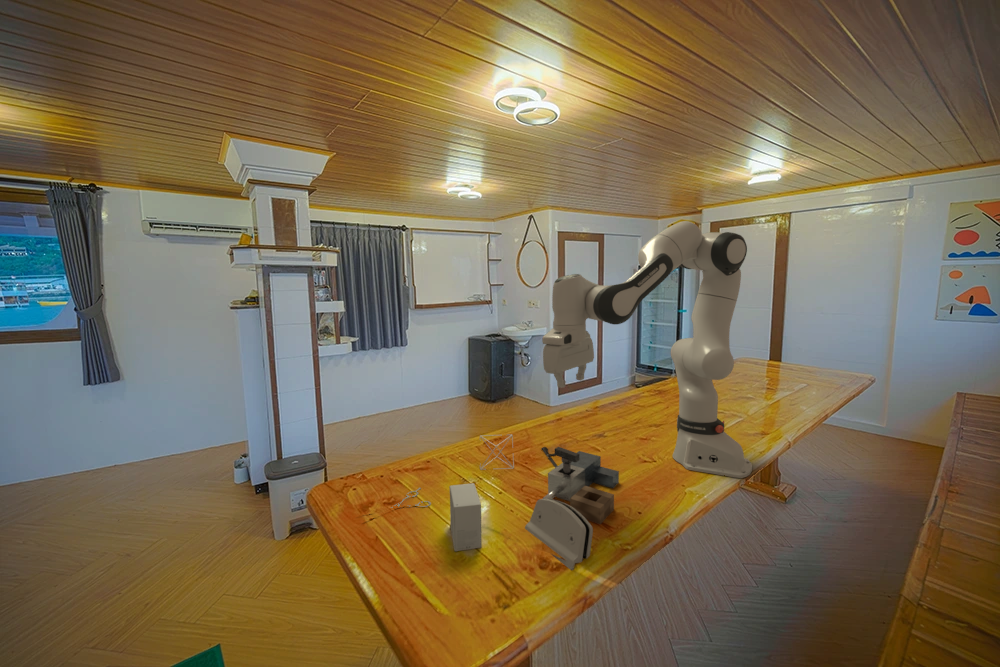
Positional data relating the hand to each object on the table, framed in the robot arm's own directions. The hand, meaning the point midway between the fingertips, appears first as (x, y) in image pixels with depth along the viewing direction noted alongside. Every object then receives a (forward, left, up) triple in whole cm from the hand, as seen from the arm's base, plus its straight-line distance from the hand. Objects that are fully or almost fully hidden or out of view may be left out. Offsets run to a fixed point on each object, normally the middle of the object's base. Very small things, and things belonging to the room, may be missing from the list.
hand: (571, 383), depth 115 cm
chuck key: (-1, +6, -28) cm, 29 cm away
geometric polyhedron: (+27, +1, -31) cm, 41 cm away
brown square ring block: (-11, +10, -30) cm, 34 cm away
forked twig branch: (+10, -14, -31) cm, 35 cm away
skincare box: (+9, +35, -31) cm, 47 cm away
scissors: (+33, +37, -31) cm, 58 cm away
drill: (-4, +4, -30) cm, 31 cm away
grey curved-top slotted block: (-10, +25, -31) cm, 41 cm away
